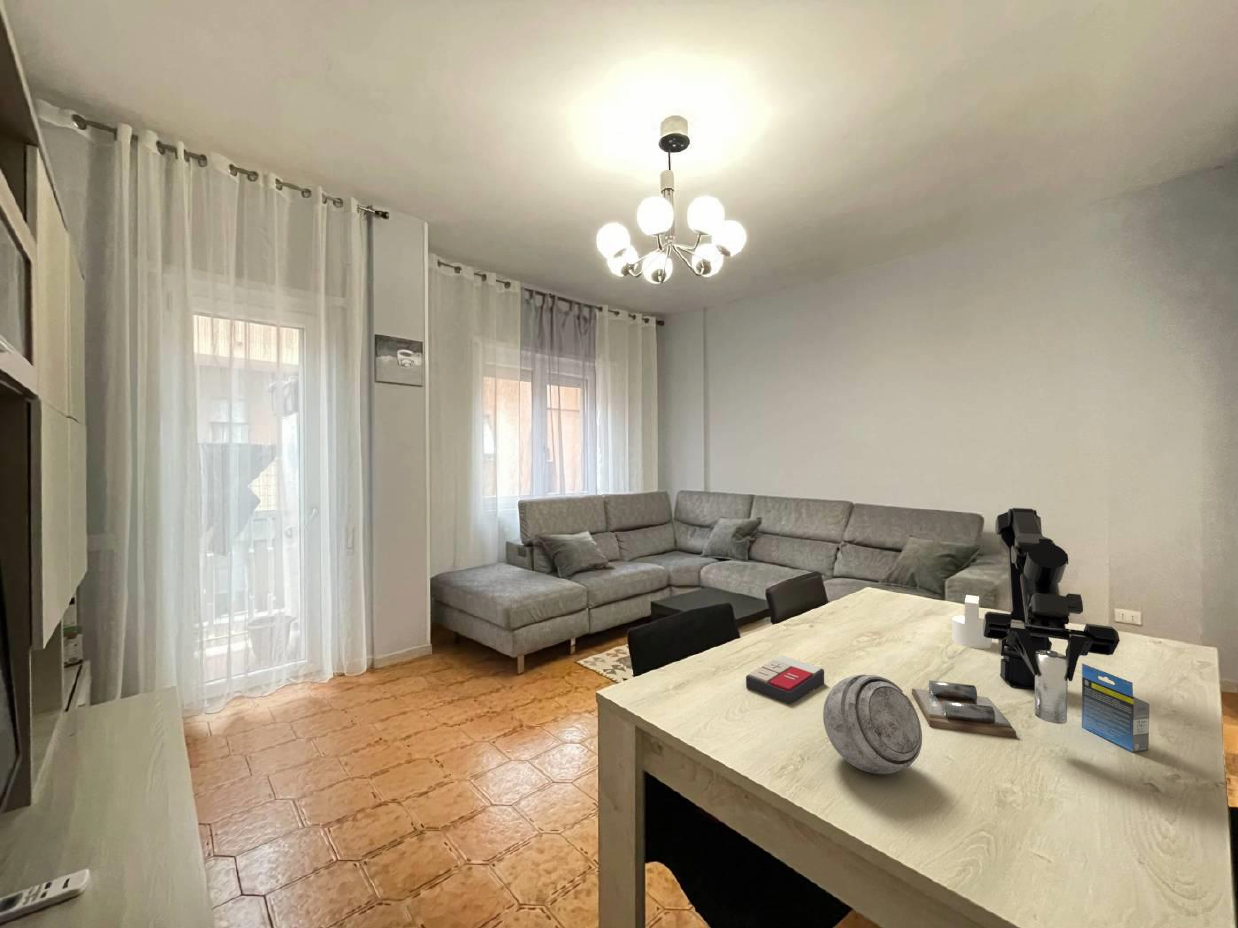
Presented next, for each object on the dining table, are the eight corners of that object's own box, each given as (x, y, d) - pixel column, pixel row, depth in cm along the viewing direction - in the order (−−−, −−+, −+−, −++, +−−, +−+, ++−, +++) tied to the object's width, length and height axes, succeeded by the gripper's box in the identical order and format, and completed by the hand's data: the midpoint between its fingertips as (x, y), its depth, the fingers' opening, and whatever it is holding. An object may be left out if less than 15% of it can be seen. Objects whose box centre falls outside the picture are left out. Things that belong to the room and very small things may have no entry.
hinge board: (987, 702, 110) (987, 697, 110) (1015, 737, 96) (1015, 731, 96) (911, 693, 114) (912, 688, 114) (929, 726, 100) (929, 720, 100)
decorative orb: (874, 804, 78) (875, 704, 78) (804, 753, 91) (804, 667, 91) (940, 779, 84) (942, 686, 84) (866, 734, 97) (866, 654, 97)
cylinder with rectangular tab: (953, 634, 151) (953, 592, 150) (991, 641, 145) (992, 597, 145) (950, 643, 143) (951, 600, 143) (991, 651, 138) (991, 605, 138)
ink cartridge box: (1150, 751, 92) (1152, 681, 92) (1132, 753, 91) (1133, 683, 91) (1096, 725, 101) (1097, 661, 100) (1079, 726, 100) (1080, 662, 100)
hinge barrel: (1059, 713, 94) (1060, 648, 93) (1072, 725, 89) (1073, 657, 89) (1029, 709, 95) (1031, 645, 94) (1041, 721, 91) (1042, 654, 90)
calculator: (744, 672, 117) (781, 652, 127) (745, 691, 117) (781, 669, 127) (789, 689, 109) (824, 665, 119) (790, 709, 109) (825, 684, 119)
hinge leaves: (986, 698, 109) (987, 684, 109) (1012, 728, 97) (1012, 712, 97) (914, 690, 113) (914, 676, 113) (930, 718, 101) (930, 702, 101)
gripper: (985, 568, 100) (991, 645, 90) (1117, 580, 90) (1139, 667, 81) (980, 599, 107) (985, 673, 97) (1102, 613, 97) (1121, 697, 88)
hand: (1052, 677), depth 91 cm, fingers closed on hinge barrel, 4 cm apart
